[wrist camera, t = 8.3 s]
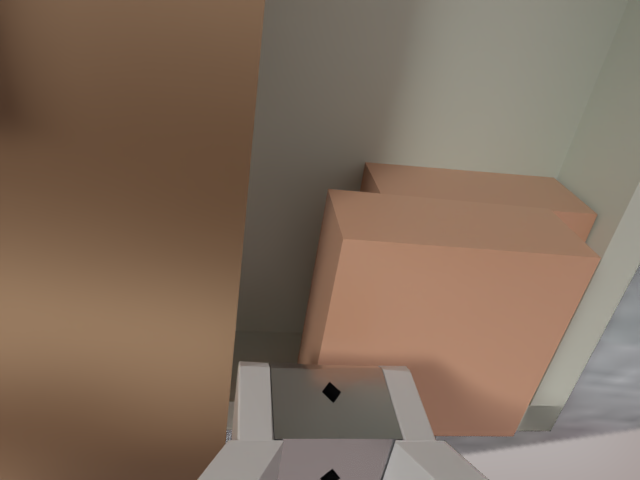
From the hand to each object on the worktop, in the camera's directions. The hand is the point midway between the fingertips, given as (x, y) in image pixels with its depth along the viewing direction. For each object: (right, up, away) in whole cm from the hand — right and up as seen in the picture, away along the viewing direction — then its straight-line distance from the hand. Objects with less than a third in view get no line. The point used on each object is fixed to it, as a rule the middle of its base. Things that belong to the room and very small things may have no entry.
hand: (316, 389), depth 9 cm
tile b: (+2, +1, +3) cm, 4 cm away
